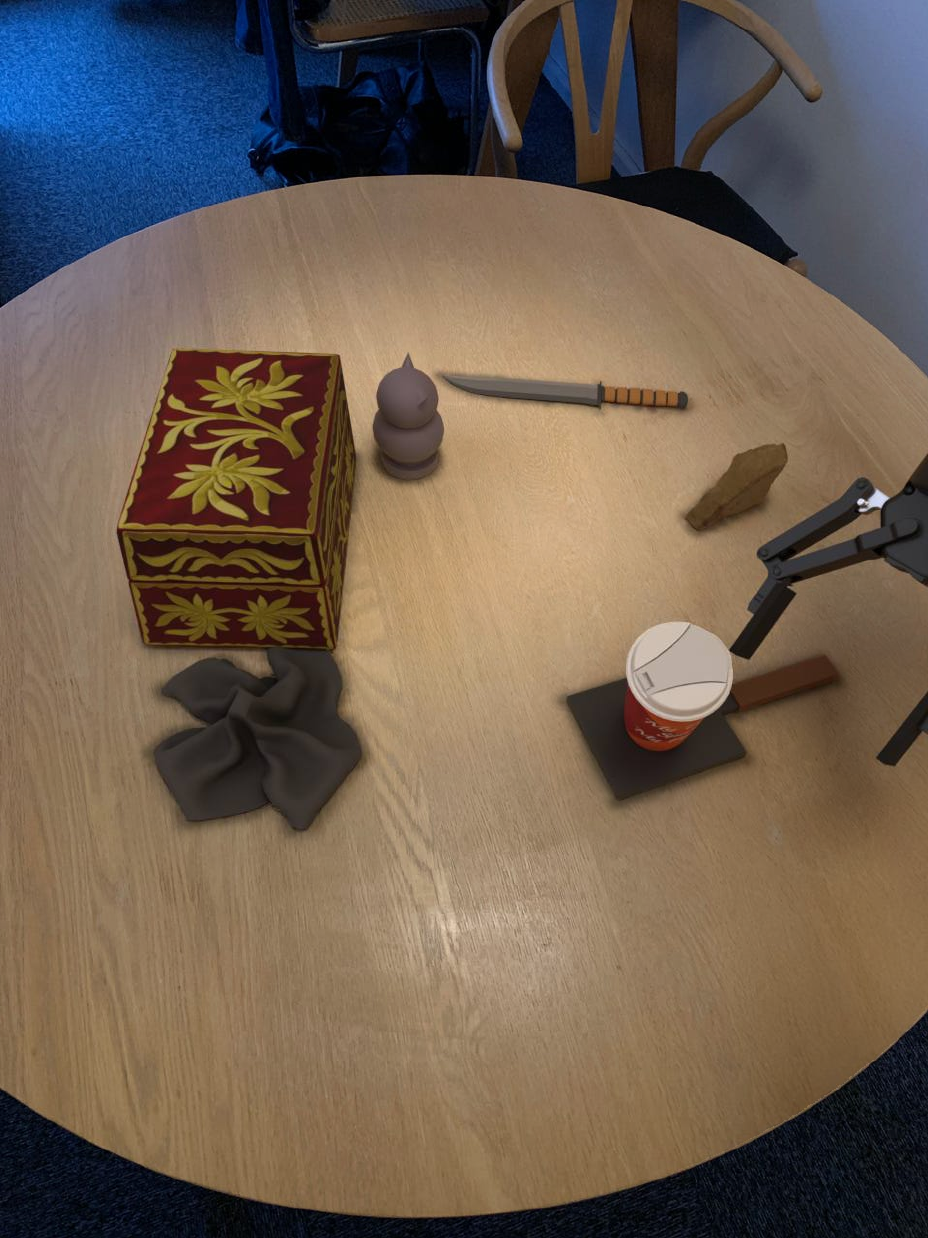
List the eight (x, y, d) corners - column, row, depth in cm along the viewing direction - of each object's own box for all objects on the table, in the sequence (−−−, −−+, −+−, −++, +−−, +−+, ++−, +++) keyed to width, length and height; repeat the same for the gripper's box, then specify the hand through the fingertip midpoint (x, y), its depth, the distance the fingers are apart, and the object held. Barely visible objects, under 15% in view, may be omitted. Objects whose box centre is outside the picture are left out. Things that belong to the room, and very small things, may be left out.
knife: (438, 392, 113) (442, 365, 116) (438, 400, 114) (442, 372, 117) (689, 411, 112) (688, 383, 114) (687, 419, 113) (685, 391, 116)
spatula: (860, 716, 88) (865, 709, 88) (617, 801, 82) (620, 794, 81) (796, 628, 94) (800, 620, 94) (565, 700, 88) (567, 693, 87)
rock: (699, 538, 98) (793, 523, 98) (693, 457, 96) (789, 442, 96) (673, 519, 109) (758, 506, 108) (667, 445, 106) (754, 432, 106)
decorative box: (337, 651, 90) (325, 545, 78) (142, 646, 89) (100, 539, 77) (357, 456, 107) (350, 345, 95) (193, 451, 106) (165, 338, 94)
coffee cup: (638, 779, 83) (660, 733, 70) (595, 699, 87) (608, 640, 73) (720, 740, 84) (758, 688, 70) (676, 663, 87) (704, 598, 74)
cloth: (362, 829, 80) (358, 797, 75) (139, 840, 78) (120, 807, 73) (361, 620, 93) (358, 581, 88) (171, 626, 91) (157, 586, 87)
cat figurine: (365, 441, 108) (360, 355, 99) (430, 428, 110) (432, 343, 100) (385, 492, 103) (382, 407, 94) (452, 478, 105) (456, 394, 96)
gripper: (1176, 564, 61) (968, 815, 66) (855, 409, 76) (706, 624, 81) (1171, 537, 55) (944, 815, 60) (825, 376, 70) (666, 609, 75)
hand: (807, 706), depth 71 cm, fingers open, 13 cm apart
